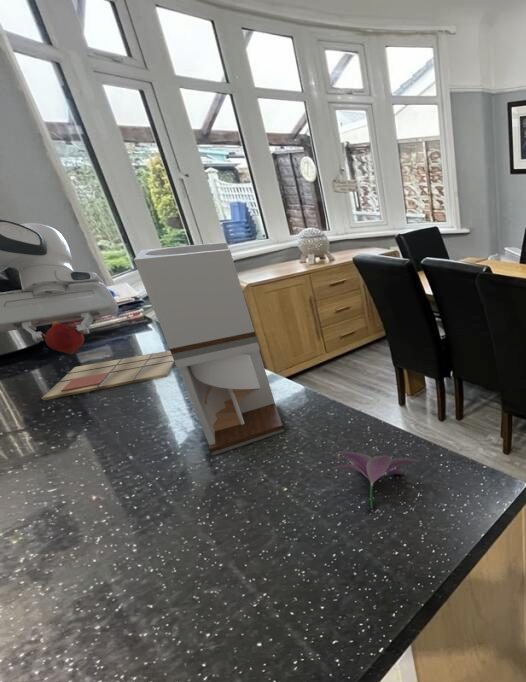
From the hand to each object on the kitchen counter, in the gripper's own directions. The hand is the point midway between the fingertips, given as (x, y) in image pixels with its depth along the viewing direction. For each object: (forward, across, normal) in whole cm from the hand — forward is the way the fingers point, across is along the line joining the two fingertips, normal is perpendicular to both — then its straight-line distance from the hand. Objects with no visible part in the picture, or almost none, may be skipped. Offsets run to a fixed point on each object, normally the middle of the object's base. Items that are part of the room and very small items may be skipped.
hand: (62, 336), depth 89 cm
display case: (+42, +28, -23) cm, 56 cm away
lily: (+65, +42, -46) cm, 90 cm away
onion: (+3, 0, +4) cm, 5 cm away
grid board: (+7, +6, +12) cm, 15 cm away
